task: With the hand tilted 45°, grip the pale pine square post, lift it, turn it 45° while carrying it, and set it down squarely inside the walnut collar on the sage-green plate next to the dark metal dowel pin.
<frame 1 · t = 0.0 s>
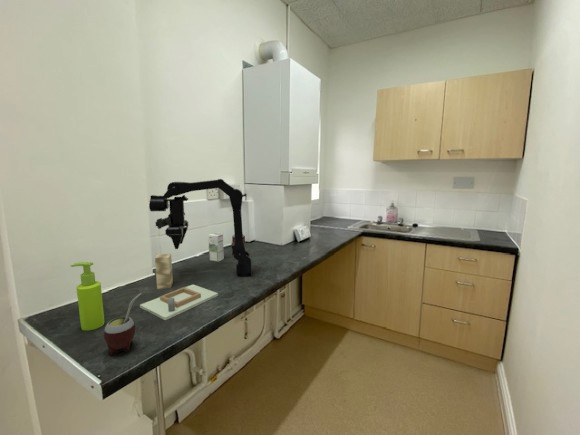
hand: (178, 246, 121), 15 cm above the worktop, tool pointing down, fingers open, 9 cm apart
mate gourd: (123, 348, 74), on the worktop
seat plate: (180, 301, 101), on the worktop
soda can: (238, 256, 158), on the worktop
soap dispenser: (91, 325, 85), on the worktop
syrup box: (216, 260, 150), on the worktop
pine post: (165, 285, 115), on the worktop
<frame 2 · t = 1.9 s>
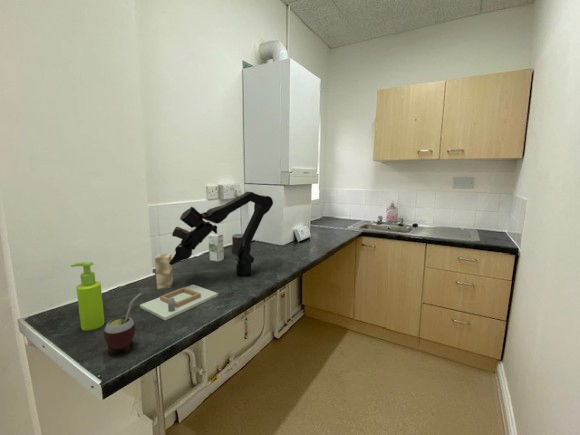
hand: (172, 260, 114), 11 cm above the worktop, tool tilted 45°, fingers open, 9 cm apart
nothing on the worktop moved.
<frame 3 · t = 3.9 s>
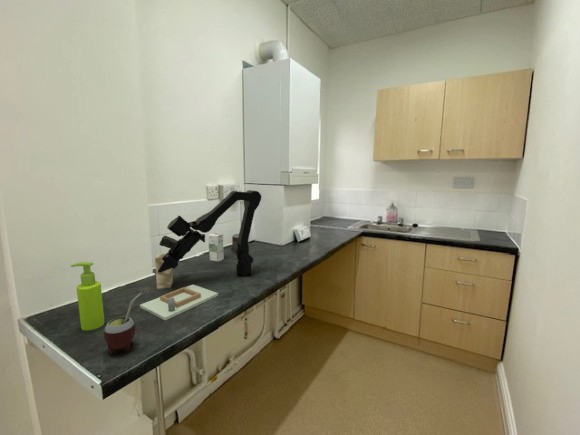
hand: (160, 269, 113), 7 cm above the worktop, tool tilted 45°, fingers closed on pine post, 5 cm apart
pine post: (165, 285, 115), on the worktop, touching gripper
everything else where it was.
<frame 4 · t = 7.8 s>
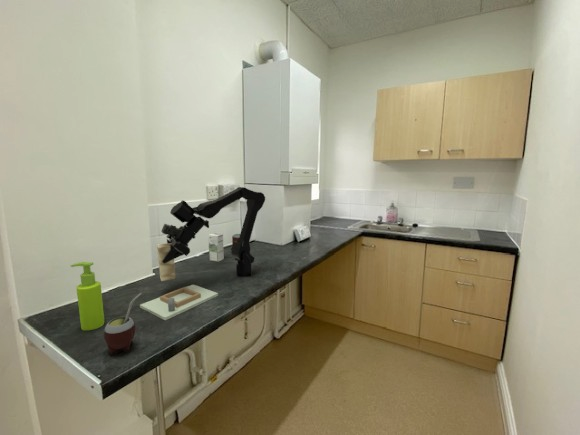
hand: (162, 260, 105), 13 cm above the worktop, tool tilted 45°, fingers closed on pine post, 5 cm apart
pine post: (167, 277, 107), point 6 cm above the worktop, touching gripper
everything else where it was.
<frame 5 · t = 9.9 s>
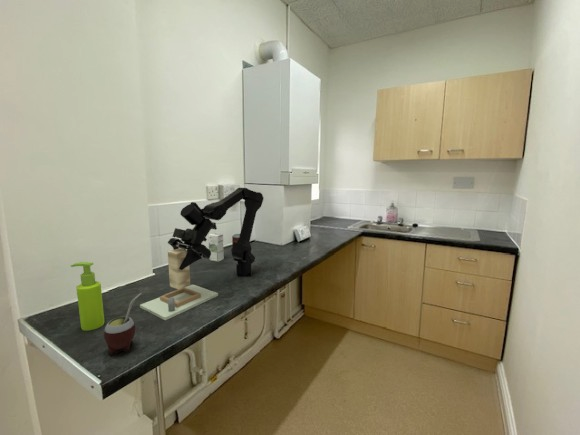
hand: (175, 267, 98), 13 cm above the worktop, tool tilted 45°, fingers closed on pine post, 5 cm apart
pine post: (180, 285, 100), point 6 cm above the worktop, touching gripper
everything else where it was.
when the fingers open (9 cm above the worktop, at t = 11.5 s): pine post stays where it is, resting on seat plate.
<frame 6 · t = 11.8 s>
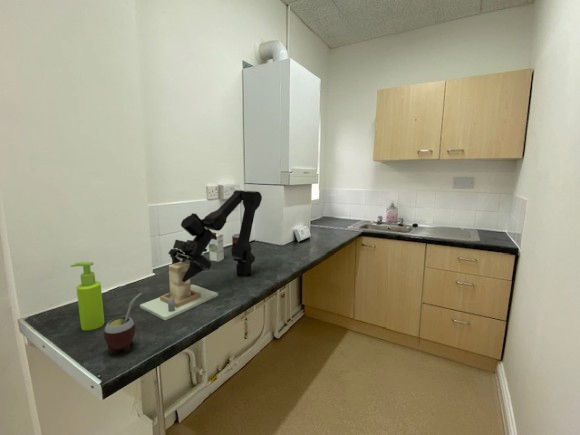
hand: (176, 279, 99), 9 cm above the worktop, tool tilted 45°, fingers open, 8 cm apart
pine post: (180, 298, 101), point 1 cm above the worktop, touching seat plate
everything else where it was.
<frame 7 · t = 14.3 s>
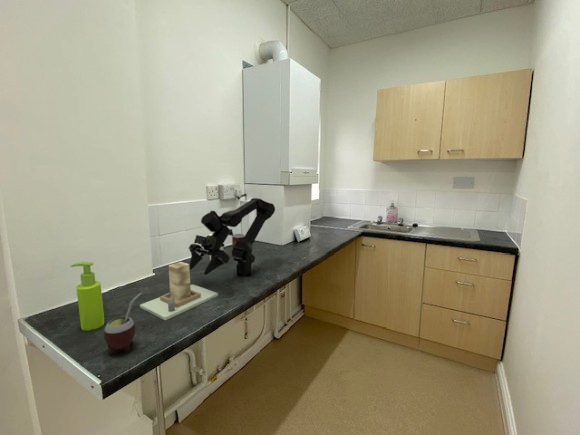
hand: (197, 271, 106), 9 cm above the worktop, tool tilted 45°, fingers open, 9 cm apart
nothing on the worktop moved.
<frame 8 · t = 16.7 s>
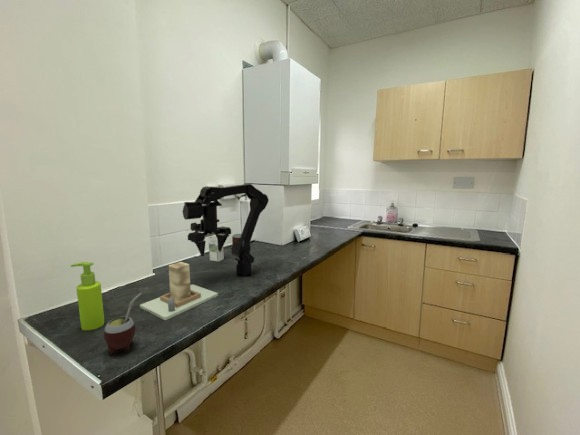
hand: (211, 253, 117), 13 cm above the worktop, tool pointing down, fingers open, 9 cm apart
nothing on the worktop moved.
at the end: pine post 0.0 cm off-centre on the seat plate, point 1.0 cm above the seat plate's base; pine post tilted 0°; the gripper is holding nothing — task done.
